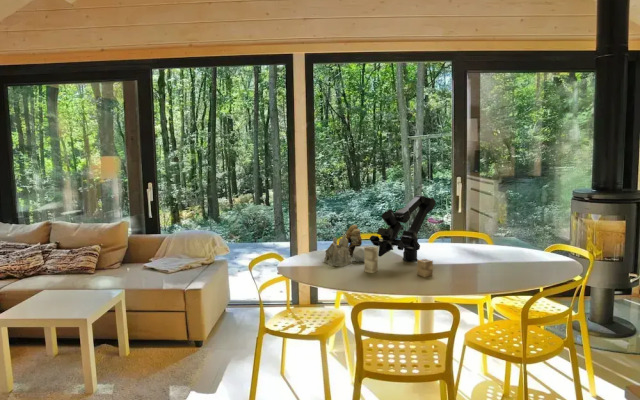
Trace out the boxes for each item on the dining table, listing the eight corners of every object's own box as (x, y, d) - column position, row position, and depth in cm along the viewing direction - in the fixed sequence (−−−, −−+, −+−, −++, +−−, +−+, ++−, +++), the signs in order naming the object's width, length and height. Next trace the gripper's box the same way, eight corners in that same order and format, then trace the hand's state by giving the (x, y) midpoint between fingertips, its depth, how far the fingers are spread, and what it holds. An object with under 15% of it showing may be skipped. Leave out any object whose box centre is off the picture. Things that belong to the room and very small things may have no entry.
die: (363, 265, 239) (372, 249, 241) (349, 256, 240) (358, 241, 242) (362, 266, 247) (370, 251, 249) (348, 258, 248) (357, 243, 250)
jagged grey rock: (330, 257, 254) (330, 231, 251) (356, 261, 245) (356, 234, 243) (315, 265, 240) (315, 237, 238) (343, 270, 232) (343, 241, 230)
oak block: (425, 273, 218) (425, 258, 218) (432, 275, 214) (432, 260, 213) (417, 274, 216) (417, 259, 215) (424, 276, 212) (424, 262, 211)
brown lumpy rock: (367, 257, 254) (367, 227, 253) (346, 257, 254) (346, 227, 252) (364, 250, 272) (364, 222, 271) (344, 250, 272) (344, 222, 270)
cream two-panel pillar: (370, 269, 226) (370, 245, 225) (377, 271, 223) (377, 247, 221) (364, 271, 223) (364, 247, 221) (371, 273, 219) (371, 248, 218)
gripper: (371, 219, 235) (357, 243, 229) (401, 223, 222) (387, 249, 215) (381, 233, 241) (367, 256, 235) (410, 237, 228) (396, 262, 221)
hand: (379, 256), depth 226 cm, fingers closed
